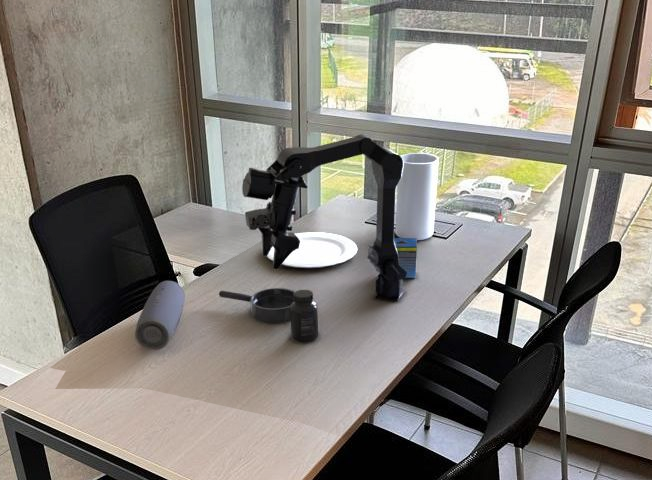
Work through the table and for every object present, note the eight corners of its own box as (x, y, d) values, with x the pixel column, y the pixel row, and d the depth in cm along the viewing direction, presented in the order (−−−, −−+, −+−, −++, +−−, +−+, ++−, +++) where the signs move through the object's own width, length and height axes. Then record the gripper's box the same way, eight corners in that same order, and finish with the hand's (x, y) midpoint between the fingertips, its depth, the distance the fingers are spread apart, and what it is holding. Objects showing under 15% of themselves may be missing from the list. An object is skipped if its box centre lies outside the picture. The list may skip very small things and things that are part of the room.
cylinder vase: (391, 228, 244) (394, 154, 231) (427, 226, 245) (432, 152, 231) (399, 242, 233) (403, 164, 220) (437, 239, 234) (443, 162, 221)
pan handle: (256, 300, 194) (256, 294, 193) (253, 303, 193) (253, 297, 192) (221, 295, 198) (220, 289, 197) (217, 297, 196) (217, 291, 195)
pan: (307, 306, 195) (307, 291, 193) (288, 327, 185) (287, 312, 183) (264, 299, 200) (263, 285, 197) (243, 319, 190) (242, 305, 187)
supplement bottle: (322, 332, 182) (321, 289, 176) (313, 345, 177) (312, 301, 170) (296, 329, 184) (294, 286, 178) (287, 341, 179) (285, 297, 172)
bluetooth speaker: (155, 312, 194) (149, 278, 189) (189, 312, 194) (185, 278, 189) (135, 355, 175) (129, 318, 170) (173, 354, 175) (168, 317, 169)
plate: (373, 247, 230) (373, 241, 229) (327, 280, 209) (326, 274, 208) (297, 231, 244) (297, 226, 243) (246, 261, 223) (245, 255, 222)
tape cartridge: (415, 273, 212) (417, 233, 205) (415, 278, 208) (418, 238, 202) (384, 272, 213) (386, 233, 206) (384, 278, 209) (386, 238, 203)
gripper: (242, 186, 180) (230, 245, 187) (262, 209, 165) (249, 273, 171) (283, 193, 184) (270, 250, 191) (307, 216, 169) (292, 277, 176)
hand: (269, 262), depth 182 cm, fingers open, 9 cm apart
